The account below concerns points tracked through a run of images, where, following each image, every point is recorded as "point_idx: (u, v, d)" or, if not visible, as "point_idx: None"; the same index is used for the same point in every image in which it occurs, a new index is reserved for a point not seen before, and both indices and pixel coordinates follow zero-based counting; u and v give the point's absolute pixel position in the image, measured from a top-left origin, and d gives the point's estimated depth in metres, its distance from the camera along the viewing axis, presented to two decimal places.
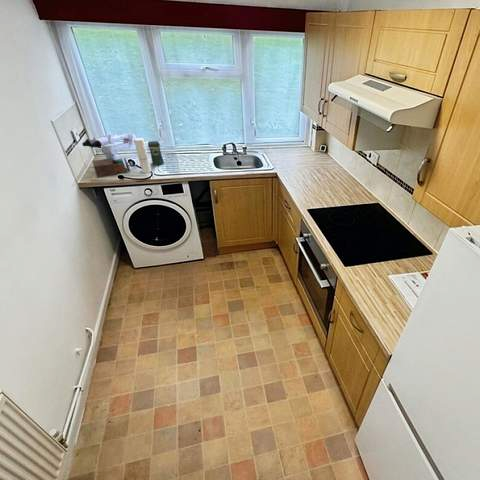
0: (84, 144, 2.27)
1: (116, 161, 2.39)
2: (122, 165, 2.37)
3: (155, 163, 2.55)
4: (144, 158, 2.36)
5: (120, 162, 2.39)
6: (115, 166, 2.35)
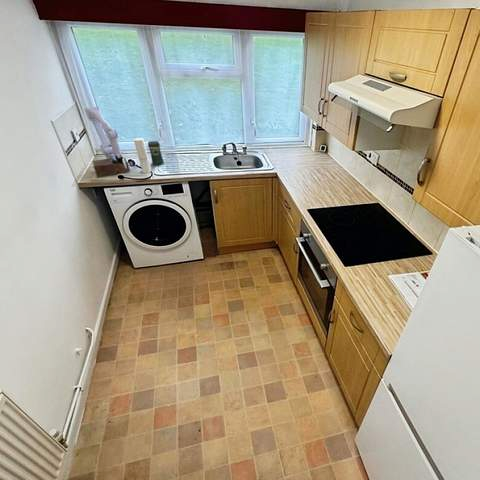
0: None
1: (116, 161, 2.39)
2: (122, 165, 2.37)
3: (155, 163, 2.55)
4: (144, 158, 2.36)
5: None
6: (115, 166, 2.35)
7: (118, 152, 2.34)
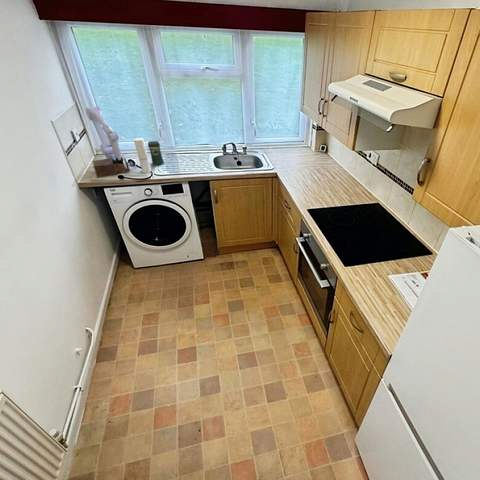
0: None
1: (116, 161, 2.39)
2: (122, 165, 2.37)
3: (155, 163, 2.55)
4: (144, 158, 2.36)
5: None
6: (115, 166, 2.35)
7: (119, 154, 2.35)
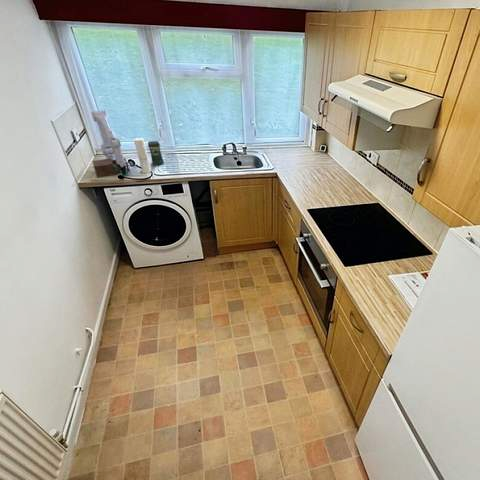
0: None
1: None
2: None
3: (155, 163, 2.55)
4: (144, 158, 2.36)
5: None
6: None
7: (121, 161, 2.28)
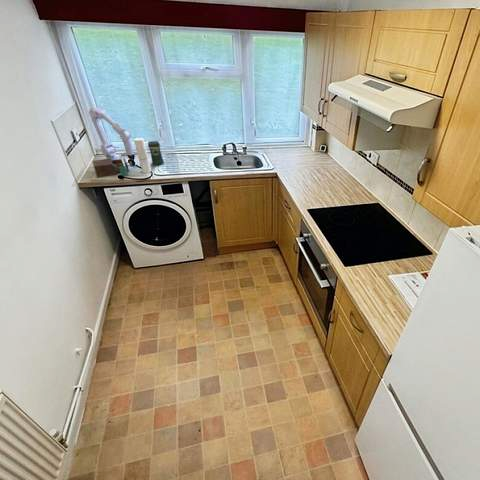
0: None
1: (119, 168, 2.32)
2: (121, 165, 2.37)
3: (155, 163, 2.55)
4: (144, 158, 2.36)
5: (123, 169, 2.33)
6: None
7: (126, 152, 2.38)
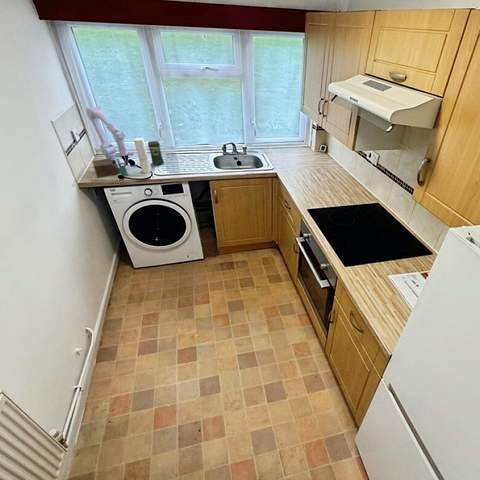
0: None
1: (119, 168, 2.32)
2: None
3: (155, 163, 2.55)
4: (144, 158, 2.36)
5: (123, 169, 2.33)
6: None
7: (120, 153, 2.36)
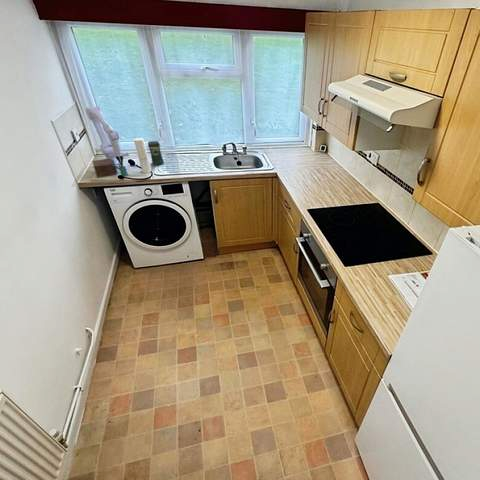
0: None
1: (119, 168, 2.32)
2: None
3: (155, 163, 2.55)
4: (144, 158, 2.36)
5: (123, 169, 2.33)
6: None
7: (114, 153, 2.34)
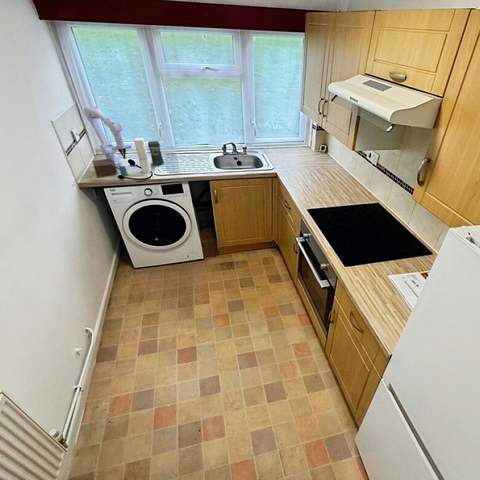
0: None
1: (119, 168, 2.32)
2: None
3: (155, 163, 2.55)
4: (144, 158, 2.36)
5: (123, 169, 2.33)
6: None
7: (117, 146, 2.32)
